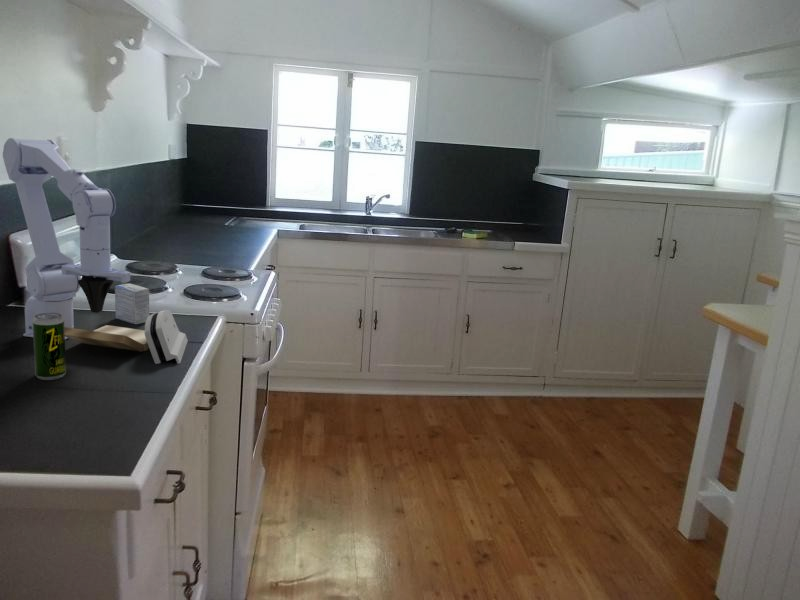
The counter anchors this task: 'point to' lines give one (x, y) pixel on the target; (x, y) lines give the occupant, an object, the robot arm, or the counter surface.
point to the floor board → (126, 334)
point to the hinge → (164, 337)
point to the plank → (103, 339)
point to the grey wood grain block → (132, 303)
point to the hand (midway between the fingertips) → (96, 311)
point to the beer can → (49, 346)
